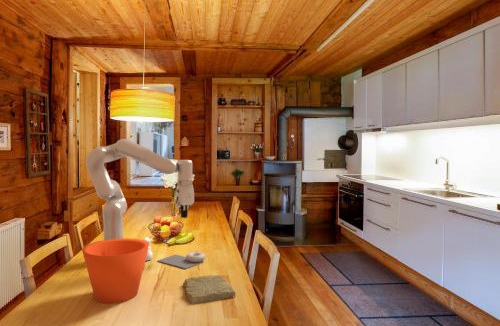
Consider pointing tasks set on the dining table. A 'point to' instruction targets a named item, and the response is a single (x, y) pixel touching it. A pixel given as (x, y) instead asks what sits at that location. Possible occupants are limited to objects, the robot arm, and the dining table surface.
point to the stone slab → (207, 288)
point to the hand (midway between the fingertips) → (184, 217)
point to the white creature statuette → (149, 253)
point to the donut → (195, 257)
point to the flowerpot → (115, 268)
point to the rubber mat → (179, 262)
